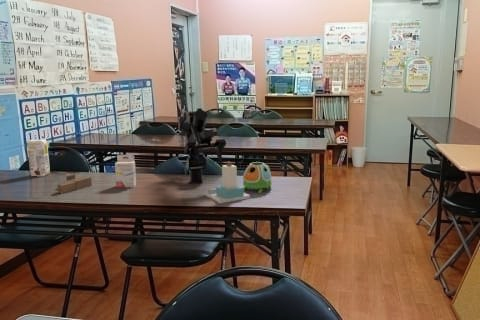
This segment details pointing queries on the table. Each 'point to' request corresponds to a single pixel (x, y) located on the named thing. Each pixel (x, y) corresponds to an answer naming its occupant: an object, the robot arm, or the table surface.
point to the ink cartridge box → (125, 171)
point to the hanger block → (229, 176)
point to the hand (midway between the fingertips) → (211, 161)
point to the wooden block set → (74, 183)
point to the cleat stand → (226, 194)
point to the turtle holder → (257, 176)
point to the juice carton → (38, 157)
